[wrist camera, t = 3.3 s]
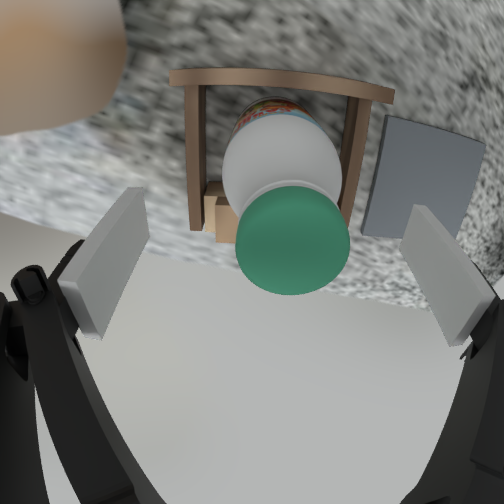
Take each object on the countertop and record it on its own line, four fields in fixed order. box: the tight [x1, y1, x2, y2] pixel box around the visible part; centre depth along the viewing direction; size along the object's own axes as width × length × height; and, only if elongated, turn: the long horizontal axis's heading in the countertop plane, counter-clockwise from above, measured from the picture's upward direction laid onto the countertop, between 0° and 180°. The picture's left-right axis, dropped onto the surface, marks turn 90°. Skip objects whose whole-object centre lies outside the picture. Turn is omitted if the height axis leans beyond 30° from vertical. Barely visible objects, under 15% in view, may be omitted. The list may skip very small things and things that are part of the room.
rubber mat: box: [361, 115, 486, 239], centre depth 29 cm, size 14×14×1 cm
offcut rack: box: [169, 67, 395, 243], centre depth 25 cm, size 16×16×8 cm
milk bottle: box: [222, 97, 350, 295], centre depth 20 cm, size 8×8×20 cm
